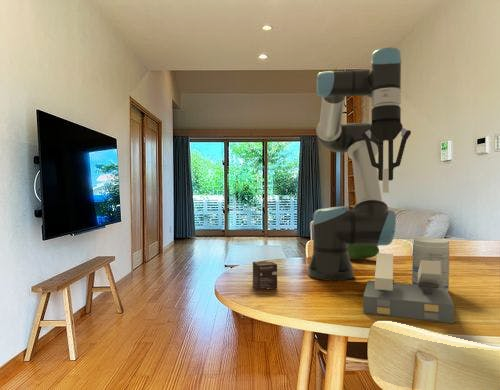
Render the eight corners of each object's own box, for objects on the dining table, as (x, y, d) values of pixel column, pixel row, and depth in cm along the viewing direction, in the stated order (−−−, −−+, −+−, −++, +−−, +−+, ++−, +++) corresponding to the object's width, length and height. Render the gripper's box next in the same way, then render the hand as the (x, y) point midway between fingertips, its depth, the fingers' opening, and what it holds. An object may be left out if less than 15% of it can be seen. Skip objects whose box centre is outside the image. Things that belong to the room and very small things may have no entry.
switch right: (421, 273, 83) (420, 260, 84) (417, 284, 95) (417, 272, 96) (440, 274, 82) (440, 261, 83) (435, 285, 94) (434, 274, 95)
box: (258, 290, 107) (257, 265, 107) (252, 285, 112) (252, 261, 112) (277, 289, 108) (277, 264, 108) (271, 284, 114) (271, 260, 114)
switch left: (374, 289, 87) (374, 277, 87) (377, 263, 100) (377, 253, 99) (392, 290, 86) (392, 279, 85) (393, 264, 98) (393, 253, 98)
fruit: (383, 260, 152) (383, 236, 151) (372, 263, 144) (372, 238, 144) (349, 255, 162) (349, 233, 162) (338, 259, 154) (338, 235, 154)
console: (363, 313, 87) (363, 285, 87) (368, 294, 102) (368, 271, 102) (454, 323, 80) (454, 293, 80) (444, 302, 95) (445, 276, 95)
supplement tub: (406, 286, 111) (406, 237, 111) (435, 285, 112) (436, 237, 111) (424, 295, 101) (424, 242, 101) (456, 294, 102) (457, 241, 102)
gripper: (360, 106, 100) (359, 192, 100) (412, 101, 95) (412, 192, 95) (362, 111, 107) (362, 192, 107) (411, 107, 102) (410, 192, 102)
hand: (385, 192), depth 101 cm, fingers closed
